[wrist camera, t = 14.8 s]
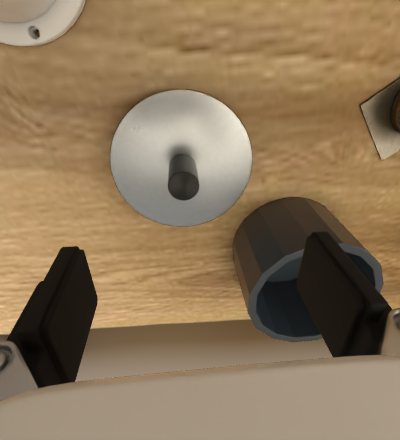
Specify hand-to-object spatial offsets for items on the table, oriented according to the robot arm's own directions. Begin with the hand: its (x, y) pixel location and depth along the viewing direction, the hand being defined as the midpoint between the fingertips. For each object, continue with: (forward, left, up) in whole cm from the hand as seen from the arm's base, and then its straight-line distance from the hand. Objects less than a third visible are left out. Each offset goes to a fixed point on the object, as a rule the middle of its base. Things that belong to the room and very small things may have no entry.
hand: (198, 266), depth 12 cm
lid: (0, -2, -19) cm, 19 cm away
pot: (+16, -9, -20) cm, 27 cm away
